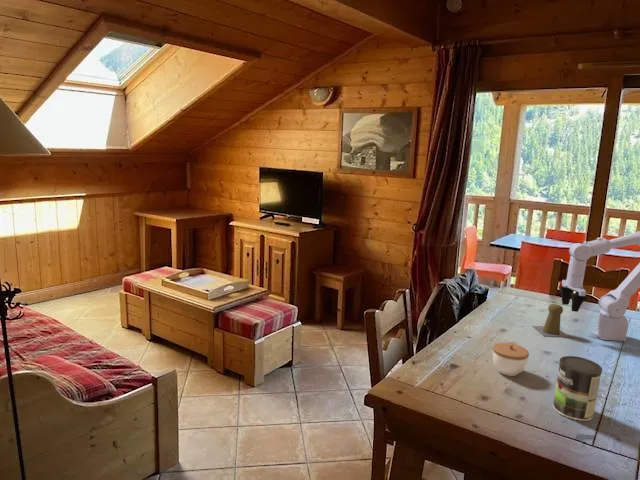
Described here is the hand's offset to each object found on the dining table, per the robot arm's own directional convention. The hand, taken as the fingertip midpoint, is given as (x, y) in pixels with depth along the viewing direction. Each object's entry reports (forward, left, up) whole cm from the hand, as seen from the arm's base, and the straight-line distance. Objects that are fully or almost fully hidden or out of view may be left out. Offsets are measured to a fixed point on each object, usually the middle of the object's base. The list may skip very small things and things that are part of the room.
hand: (569, 307), depth 187 cm
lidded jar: (+36, +36, -11) cm, 52 cm away
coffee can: (+26, +58, -11) cm, 65 cm away
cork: (+6, 0, -10) cm, 12 cm away
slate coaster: (+6, 0, -11) cm, 13 cm away
